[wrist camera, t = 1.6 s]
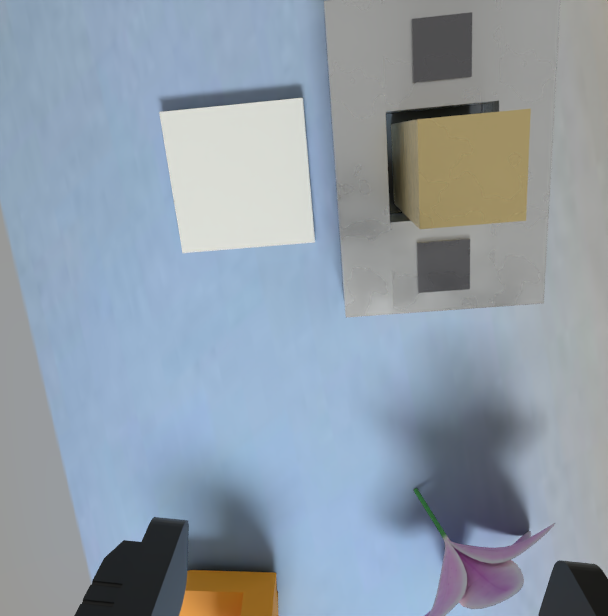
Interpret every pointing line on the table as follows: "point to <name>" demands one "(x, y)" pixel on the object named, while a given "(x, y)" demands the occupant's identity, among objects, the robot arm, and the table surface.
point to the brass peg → (462, 168)
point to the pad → (240, 175)
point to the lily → (477, 572)
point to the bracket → (230, 594)
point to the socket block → (430, 95)
